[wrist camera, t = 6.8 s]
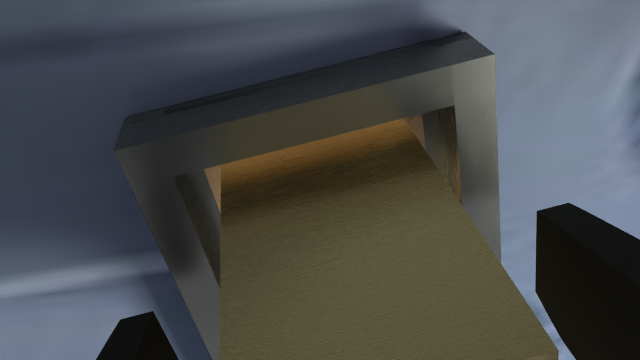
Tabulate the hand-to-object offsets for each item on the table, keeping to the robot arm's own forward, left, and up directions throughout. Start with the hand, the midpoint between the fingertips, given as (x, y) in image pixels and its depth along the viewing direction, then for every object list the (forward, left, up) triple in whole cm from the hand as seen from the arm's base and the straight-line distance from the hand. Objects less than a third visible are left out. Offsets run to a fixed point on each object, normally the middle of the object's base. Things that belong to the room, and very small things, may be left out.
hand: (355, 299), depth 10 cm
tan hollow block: (0, 0, -2) cm, 3 cm away
